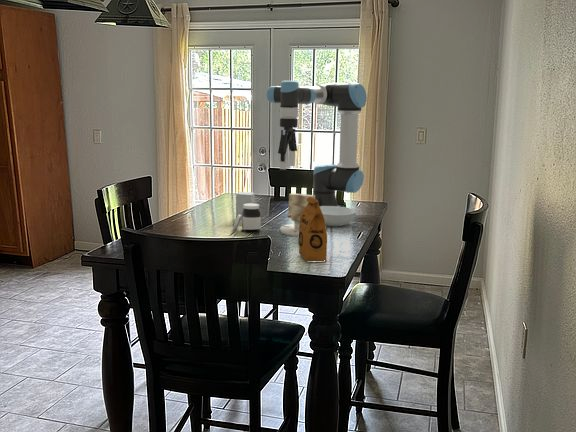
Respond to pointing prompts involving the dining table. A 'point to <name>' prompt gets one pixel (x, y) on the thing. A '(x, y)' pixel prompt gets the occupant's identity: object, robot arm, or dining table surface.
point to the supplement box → (243, 201)
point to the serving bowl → (337, 215)
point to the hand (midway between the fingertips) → (287, 167)
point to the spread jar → (249, 218)
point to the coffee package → (312, 232)
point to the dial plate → (291, 229)
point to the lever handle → (297, 205)
